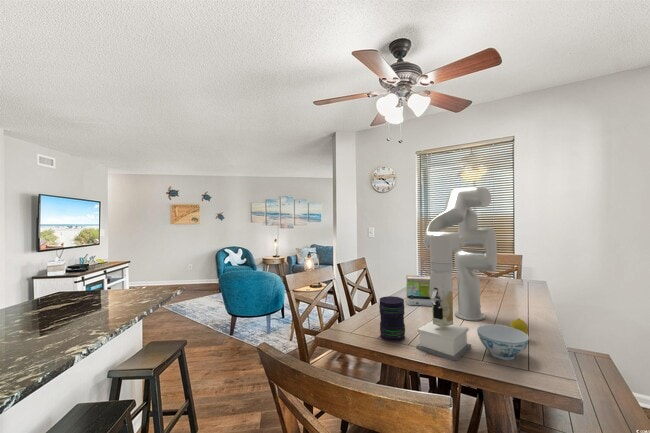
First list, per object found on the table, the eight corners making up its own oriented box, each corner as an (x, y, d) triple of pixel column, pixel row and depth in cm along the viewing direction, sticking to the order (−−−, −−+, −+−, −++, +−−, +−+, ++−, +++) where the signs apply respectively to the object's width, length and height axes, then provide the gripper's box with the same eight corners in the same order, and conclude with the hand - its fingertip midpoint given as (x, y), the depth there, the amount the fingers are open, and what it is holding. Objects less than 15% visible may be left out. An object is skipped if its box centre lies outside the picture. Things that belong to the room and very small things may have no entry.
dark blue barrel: (410, 336, 116) (409, 299, 116) (395, 344, 109) (394, 304, 109) (389, 330, 123) (388, 295, 123) (375, 336, 117) (374, 299, 117)
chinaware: (476, 359, 96) (475, 336, 96) (479, 342, 109) (478, 322, 109) (531, 371, 88) (530, 345, 88) (527, 351, 101) (526, 329, 101)
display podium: (433, 336, 115) (433, 319, 115) (470, 347, 105) (470, 327, 105) (416, 348, 105) (415, 329, 106) (455, 361, 95) (454, 339, 96)
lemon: (528, 343, 107) (528, 322, 107) (510, 340, 110) (510, 319, 110) (527, 338, 111) (527, 317, 112) (510, 335, 114) (510, 315, 114)
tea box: (407, 305, 156) (406, 278, 157) (406, 300, 166) (405, 274, 166) (437, 306, 153) (436, 278, 153) (434, 301, 163) (433, 275, 163)
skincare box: (441, 328, 102) (440, 293, 102) (432, 324, 106) (431, 291, 106) (454, 324, 105) (453, 291, 105) (444, 320, 109) (443, 288, 109)
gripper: (441, 263, 114) (442, 308, 114) (420, 269, 102) (421, 319, 102) (461, 265, 109) (462, 312, 109) (441, 271, 97) (442, 325, 97)
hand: (442, 315), depth 106 cm, fingers closed on skincare box, 7 cm apart
